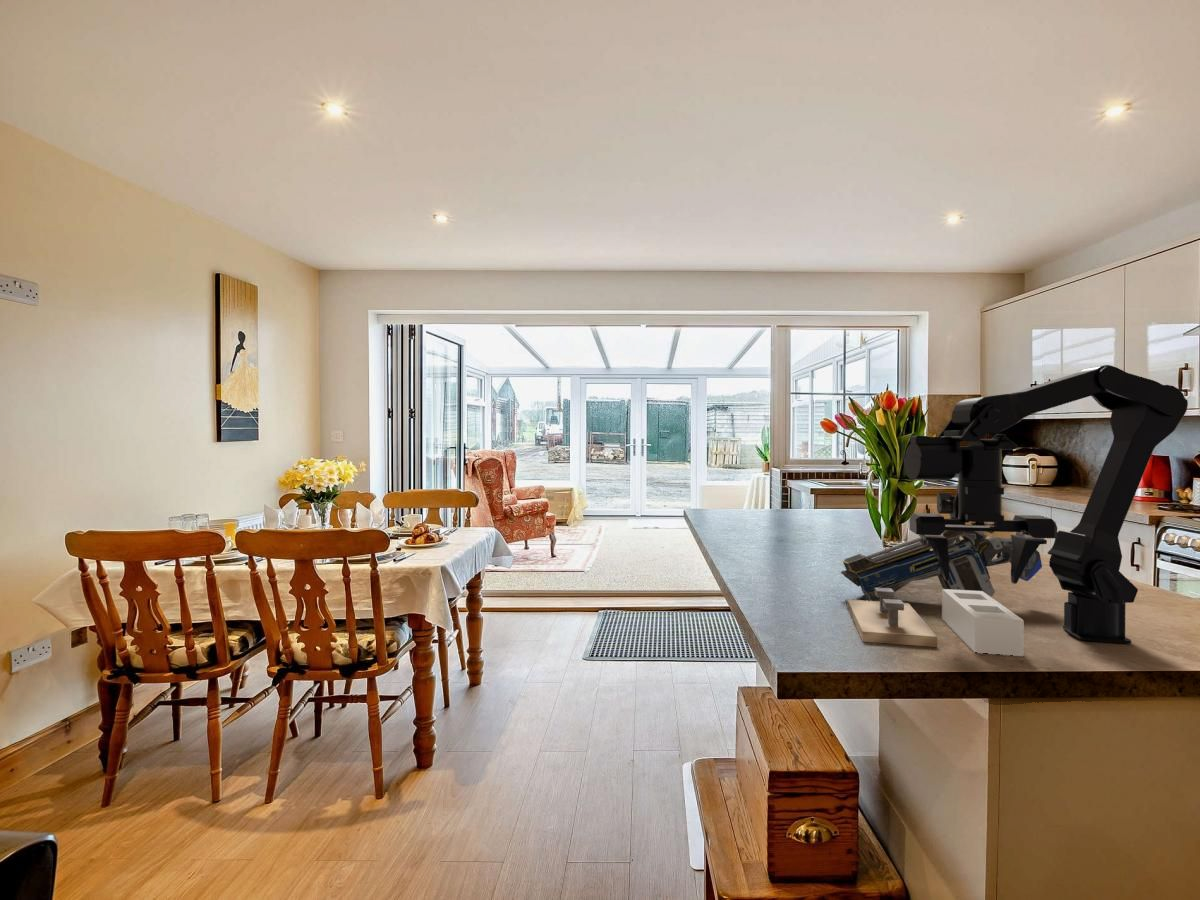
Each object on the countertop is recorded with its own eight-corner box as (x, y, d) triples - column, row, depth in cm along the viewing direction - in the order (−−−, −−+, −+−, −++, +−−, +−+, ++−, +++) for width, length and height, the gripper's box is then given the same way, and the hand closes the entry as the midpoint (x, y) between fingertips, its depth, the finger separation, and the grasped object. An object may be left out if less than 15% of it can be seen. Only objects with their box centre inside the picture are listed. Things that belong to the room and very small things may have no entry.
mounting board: (908, 611, 111) (908, 582, 111) (936, 646, 92) (936, 611, 92) (847, 607, 114) (847, 579, 114) (862, 641, 95) (862, 607, 94)
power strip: (941, 618, 107) (942, 588, 107) (982, 621, 105) (982, 591, 105) (974, 652, 89) (975, 617, 89) (1023, 656, 88) (1023, 620, 88)
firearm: (1058, 580, 110) (1022, 500, 111) (871, 640, 117) (838, 564, 118) (1036, 571, 118) (1003, 496, 119) (862, 628, 125) (832, 556, 126)
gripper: (1028, 477, 102) (1028, 573, 102) (902, 476, 107) (902, 568, 107) (1058, 481, 92) (1058, 589, 92) (917, 480, 96) (917, 583, 97)
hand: (979, 581), depth 97 cm, fingers open, 9 cm apart
